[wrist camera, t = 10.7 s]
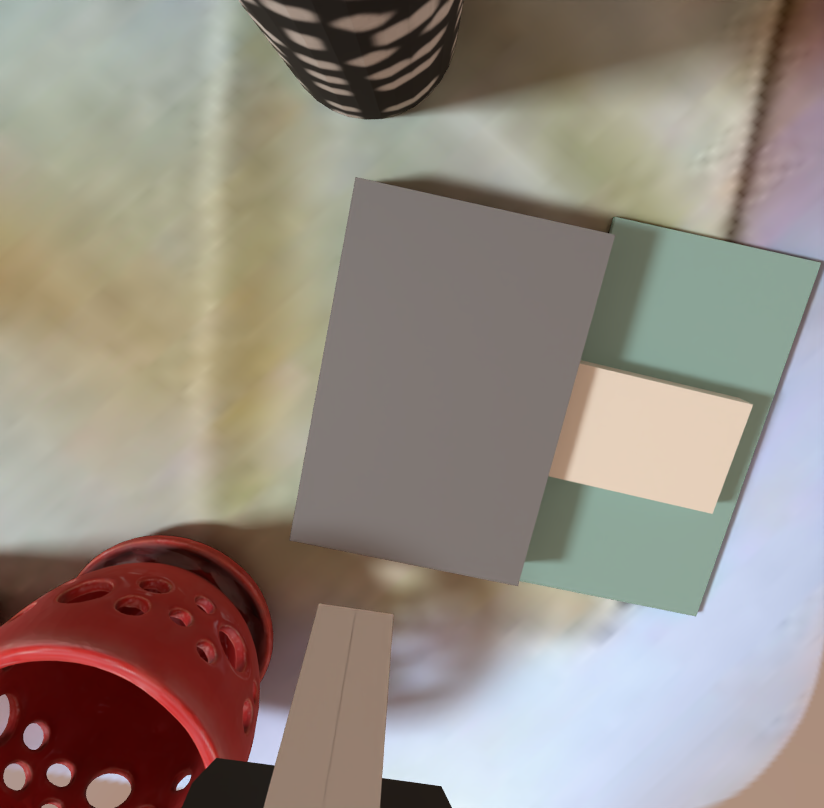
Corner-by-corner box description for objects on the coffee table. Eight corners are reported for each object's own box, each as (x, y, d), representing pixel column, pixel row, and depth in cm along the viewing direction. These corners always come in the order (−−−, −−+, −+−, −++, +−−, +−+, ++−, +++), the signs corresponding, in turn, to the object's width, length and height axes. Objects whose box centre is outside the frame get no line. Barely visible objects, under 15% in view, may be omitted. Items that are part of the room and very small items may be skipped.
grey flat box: (361, 183, 32) (355, 177, 29) (598, 235, 33) (615, 234, 30) (299, 516, 37) (289, 540, 34) (510, 559, 37) (517, 586, 34)
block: (572, 358, 34) (578, 363, 32) (738, 397, 34) (752, 404, 33) (540, 465, 35) (545, 475, 34) (700, 502, 36) (712, 513, 34)
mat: (613, 217, 33) (615, 216, 32) (816, 262, 33) (821, 262, 33) (514, 576, 37) (515, 580, 37) (693, 612, 38) (695, 616, 37)
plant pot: (76, 492, 36) (-86, 610, 25) (308, 546, 37) (257, 685, 25) (50, 691, 40) (-105, 878, 28) (265, 737, 40) (201, 940, 28)
